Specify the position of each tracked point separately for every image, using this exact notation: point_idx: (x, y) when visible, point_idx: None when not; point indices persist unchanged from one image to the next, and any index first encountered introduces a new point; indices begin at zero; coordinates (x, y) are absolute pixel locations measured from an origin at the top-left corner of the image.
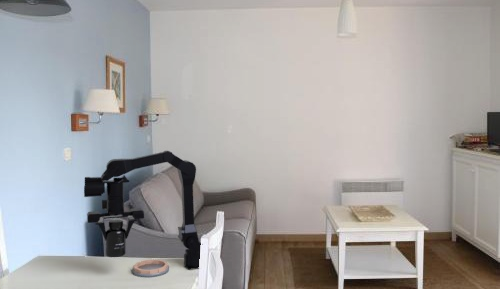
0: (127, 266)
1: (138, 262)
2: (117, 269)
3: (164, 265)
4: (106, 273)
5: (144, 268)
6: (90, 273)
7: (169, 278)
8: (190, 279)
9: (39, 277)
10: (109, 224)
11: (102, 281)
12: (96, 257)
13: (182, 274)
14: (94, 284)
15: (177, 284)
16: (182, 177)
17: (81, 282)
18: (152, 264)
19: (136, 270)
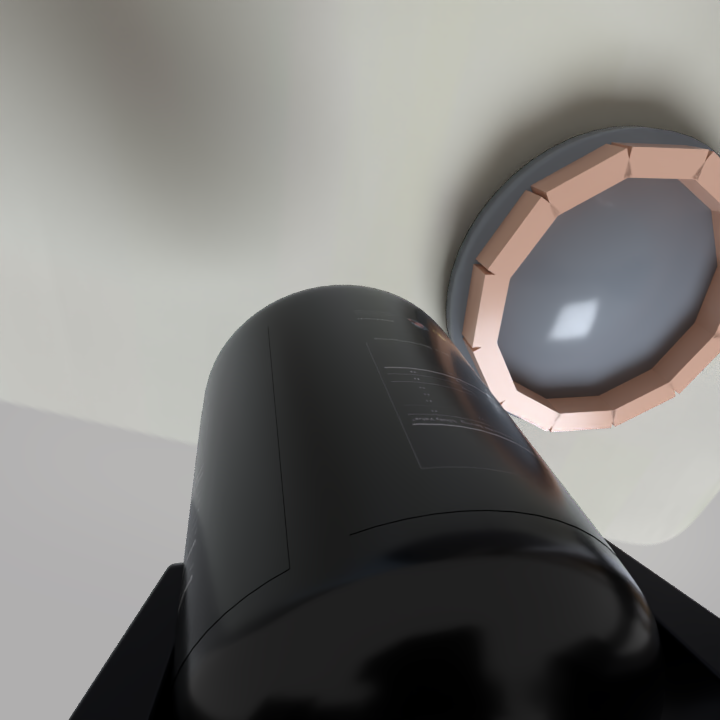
0: (454, 65)
1: (558, 196)
2: (341, 125)
3: (694, 357)
4: (225, 209)
5: (556, 288)
6: (48, 140)
7: (618, 457)
8: (697, 496)
9: None
10: None
11: (194, 391)
12: None
13: (713, 419)
14: (134, 430)
15: (607, 538)
16: None
17: (9, 363)
18: (657, 205)
19: (476, 362)
